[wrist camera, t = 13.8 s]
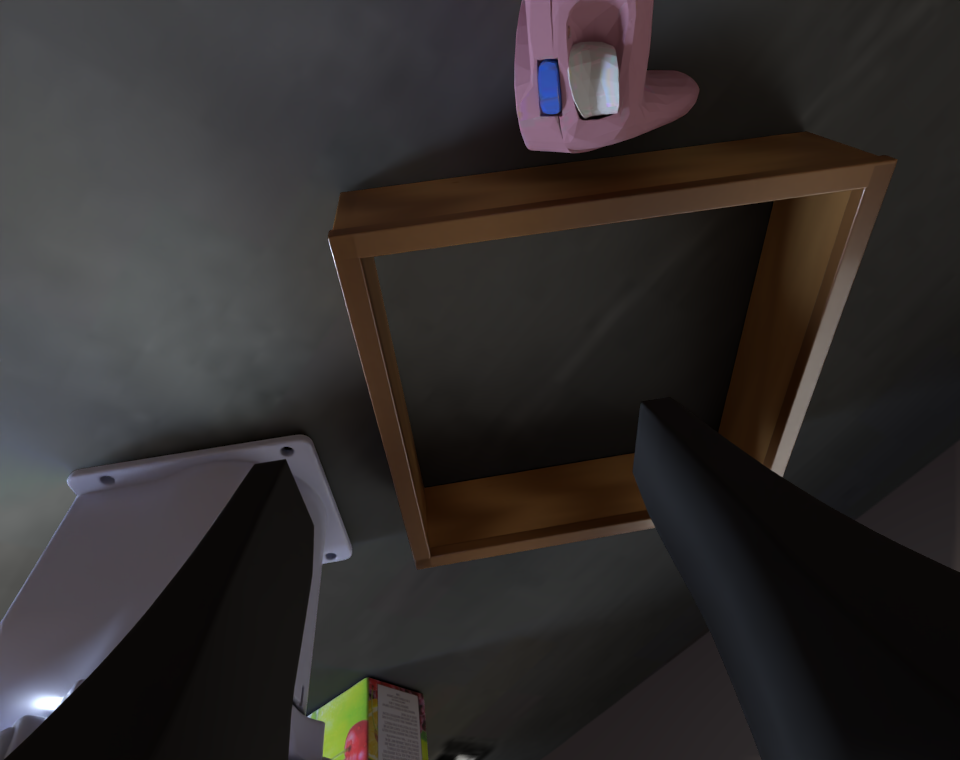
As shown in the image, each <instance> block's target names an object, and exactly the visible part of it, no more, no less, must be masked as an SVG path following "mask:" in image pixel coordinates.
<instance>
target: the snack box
mask: <svg viewBox="0 0 960 760" xmlns="http://www.w3.org/2000/svg"><path fill="white" fill-rule="evenodd" d="M307 717H309V718H312V719H314V720H319V721H323V722H324V723H325V732H324V744H323V756H322V757H326V758H329V759H332V760H428V750H427V736H426V720H425V706H424V696H423V694H422V693H417V692H414V691H411V690H408V689H404V688H401V687H398V686H395V685H391V684H388V683H385V682H382V681H379V680H375V679H372V678H370V677H367V678H364V679H363V680H361V681H360V682H358V683H357V684H355V685H354V686H353V687H351V688H350V689H348V690H347V691H345V692H344V693H342V694H341V695H339V696H338V697H336V698H335V699H333V700H332V701H330V702H329V703H327V704H326V705H324V706H323V707H321V708H320V709H318V710H316V711H315V712H313V713H312V714H310V715H309V716H307Z"/></svg>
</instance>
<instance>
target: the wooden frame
mask: <svg viewBox="0 0 960 760" xmlns="http://www.w3.org/2000/svg"><path fill="white" fill-rule="evenodd" d="M896 163H897V159H895V158H892V157H889V156H886V155H881V156H877V155H874V154H871V153H868V152H865V151H862V150H859V149H856V148H853V147H851V146H848V145H845V144H842V143H839V142H836V141H833V140H830V139H827V138H824V137H821V136H818V135H815V134H813V133H810V132H807V131H805V132H797V133H789V134H782V135H774V136H767V137H759V138H751V139H744V140H736V141H729V142H721V143H713V144H706V145H698V146H691V147H683V148H675V149H668V150H660V151H652V152H645V153H637V154H630V155H622V156H614V157H607V158H599V159H592V160H584V161H576V162H569V163H561V164H554V165H546V166H538V167H531V168H523V169H516V170H508V171H500V172H493V173H485V174H478V175H470V176H462V177H455V178H447V179H440V180H432V181H424V182H417V183H409V184H402V185H394V186H386V187H379V188H371V189H364V190H356V191H348V192H341V193H340V197H339V202H338V206H337V211H336V216H335V220H334V225H333V229H332V230H330V231H329V234H328V242H329V245H330V249H331V253H332V256H333V260H334V264H335V267H336V271H337V275H338V279H339V282H340V286H341V290H342V294H343V297H344V301H345V305H346V308H347V312H348V316H349V320H350V323H351V327H352V331H353V335H354V338H355V342H356V346H357V349H358V353H359V357H360V361H361V364H362V368H363V372H364V376H365V379H366V383H367V387H368V391H369V394H370V398H371V402H372V405H373V409H374V413H375V417H376V420H377V424H378V428H379V432H380V435H381V439H382V443H383V446H384V450H385V454H386V458H387V461H388V465H389V469H390V473H391V476H392V480H393V484H394V488H395V491H396V495H397V499H398V502H399V506H400V510H401V514H402V517H403V521H404V525H405V529H406V532H407V536H408V540H409V543H410V547H411V551H412V555H413V558H414V562H415V566H416V569H417V570H419V569H424V568H430V567H436V566H441V565H447V564H453V563H458V562H464V561H470V560H475V559H481V558H487V557H492V556H498V555H504V554H509V553H515V552H521V551H526V550H532V549H538V548H543V547H549V546H555V545H560V544H566V543H572V542H577V541H583V540H589V539H594V538H600V537H606V536H611V535H617V534H623V533H628V532H634V531H640V530H645V529H651V528H655V526H654V524H653V522H652V520H651V518H650V516H649V514H648V511H647V509H646V506H645V504H644V501H643V499H642V496H641V494H640V491H639V488H638V485H637V483H636V480H635V477H634V475H633V472H632V471H633V462H634V454H635V453H631V454H625V455H619V456H613V457H607V458H601V459H595V460H589V461H583V462H577V463H571V464H565V465H559V466H553V467H547V468H541V469H535V470H529V471H523V472H517V473H511V474H505V475H499V476H493V477H487V478H481V479H475V480H469V481H463V482H457V483H451V484H445V485H439V486H433V487H427V488H424V484H423V480H422V475H421V470H420V466H419V461H418V457H417V452H416V448H415V443H414V438H413V434H412V429H411V425H410V420H409V416H408V411H407V407H406V402H405V397H404V393H403V388H402V384H401V379H400V375H399V370H398V365H397V361H396V356H395V352H394V347H393V343H392V338H391V334H390V329H389V324H388V320H387V315H386V311H385V306H384V302H383V297H382V292H381V288H380V283H379V279H378V274H377V270H376V265H375V261H374V256H381V255H388V254H395V253H403V252H410V251H417V250H424V249H431V248H439V247H446V246H453V245H460V244H467V243H474V242H482V241H489V240H496V239H503V238H510V237H517V236H525V235H532V234H539V233H546V232H553V231H560V230H568V229H575V228H582V227H589V226H596V225H604V224H611V223H618V222H625V221H632V220H639V219H647V218H654V217H661V216H668V215H675V214H682V213H690V212H697V211H704V210H711V209H718V208H725V207H733V206H740V205H747V204H754V203H761V202H769V201H774V203H773V207H772V211H771V215H770V219H769V223H768V227H767V232H766V236H765V240H764V244H763V248H762V252H761V256H760V261H759V265H758V269H757V273H756V277H755V281H754V285H753V290H752V294H751V298H750V302H749V306H748V310H747V314H746V319H745V323H744V327H743V331H742V335H741V339H740V343H739V348H738V352H737V356H736V360H735V364H734V368H733V372H732V377H731V381H730V385H729V389H728V393H727V397H726V401H725V406H724V410H723V414H722V418H721V422H720V426H719V430H718V433H719V434H721V435H722V436H723V437H725V438H726V439H727V440H729V441H730V442H732V443H733V444H734V445H736V446H737V447H739V448H740V449H741V450H743V451H744V452H746V453H747V454H748V455H750V456H751V457H753V458H754V459H756V460H757V461H759V462H760V463H762V464H763V465H764V466H766V467H767V468H769V469H770V470H772V471H773V472H775V473H776V474H778V475H779V476H781V477H783V474H784V472H785V469H786V466H787V463H788V461H789V458H790V455H791V452H792V450H793V447H794V444H795V441H796V439H797V436H798V433H799V430H800V428H801V425H802V422H803V419H804V417H805V414H806V411H807V408H808V405H809V403H810V400H811V397H812V394H813V392H814V389H815V386H816V383H817V381H818V378H819V375H820V372H821V370H822V367H823V364H824V361H825V359H826V356H827V353H828V350H829V348H830V345H831V342H832V339H833V337H834V334H835V331H836V328H837V326H838V323H839V320H840V317H841V315H842V312H843V309H844V306H845V304H846V301H847V298H848V295H849V293H850V290H851V287H852V284H853V282H854V279H855V276H856V273H857V271H858V268H859V265H860V262H861V259H862V257H863V254H864V251H865V248H866V246H867V243H868V240H869V237H870V235H871V232H872V229H873V226H874V224H875V221H876V218H877V215H878V213H879V210H880V207H881V204H882V202H883V199H884V196H885V193H886V191H887V188H888V185H889V182H890V180H891V177H892V174H893V171H894V169H895V166H896Z"/></svg>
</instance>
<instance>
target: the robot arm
mask: <svg viewBox="0 0 960 760" xmlns="http://www.w3.org/2000/svg"><path fill="white" fill-rule="evenodd" d="M283 447H290V448H292V449H290V450H289V449H284V448H283ZM632 472H633V475H634V477H635V480H636V483H637V485H638V488H639V491H640V494H641V496H642V499H643V501H644V504H645V506H646V509H647V511H648V514H649V516H650V518H651V520H652V522H653V524H654V526H655V528H656V530H657V532H658V533H659V535H660V537H661V539H662V541H663V543H664V545H665V547H666V549H667V551H668V552H669V554H670V556H671V558H672V560H673V562H674V564H675V565H676V567H677V569H678V571H679V573H680V575H681V577H682V578H683V580H684V582H685V584H686V586H687V588H688V590H689V591H690V593H691V595H692V597H693V599H694V601H695V603H696V604H697V606H698V608H699V610H700V612H701V614H702V616H703V618H704V620H705V622H706V624H707V626H708V628H709V630H710V633H711V635H712V637H713V639H714V642H715V644H716V646H717V649H718V651H719V654H720V656H721V658H722V661H723V663H724V666H725V668H726V670H727V673H728V675H729V677H730V680H731V682H732V685H733V687H734V690H735V692H736V695H737V697H738V700H739V702H740V705H741V707H742V710H743V712H744V715H745V718H746V720H747V723H748V725H749V728H750V730H751V733H752V735H753V738H754V740H755V743H756V746H757V749H758V751H759V754H760V757H761V759H762V760H960V572H958V571H956V570H953V569H951V568H949V567H946V566H945V565H942V564H940V563H938V562H936V561H934V560H932V559H930V558H927V557H926V556H924V555H921V554H919V553H917V552H915V551H913V550H911V549H909V548H907V547H905V546H902V545H900V544H898V543H896V542H895V541H892V540H891V539H889V538H887V537H885V536H883V535H881V534H879V533H877V532H875V531H873V530H871V529H869V528H868V527H866V526H864V525H862V524H860V523H858V522H857V521H855V520H853V519H851V518H849V517H848V516H846V515H844V514H842V513H840V512H838V511H837V510H835V509H833V508H831V507H830V506H828V505H826V504H825V503H823V502H821V501H819V500H818V499H816V498H814V497H813V496H811V495H810V494H808V493H806V492H805V491H803V490H802V489H800V488H798V487H797V486H795V485H794V484H792V483H790V482H789V481H787V480H786V479H784V478H783V477H781V476H779V475H778V474H776V473H775V472H773V471H772V470H770V469H769V468H767V467H766V466H764V465H763V464H762V463H760V462H759V461H757V460H756V459H754V458H753V457H751V456H750V455H748V454H747V453H746V452H744V451H743V450H741V449H740V448H739V447H737V446H736V445H734V444H733V443H732V442H730V441H729V440H727V439H726V438H725V437H723V436H722V435H721V434H719V433H718V432H716V431H715V430H714V429H712V428H711V427H710V426H708V425H707V424H706V423H704V422H703V421H702V420H700V419H699V418H698V417H696V416H695V415H694V414H692V413H691V412H690V411H688V410H687V409H685V408H684V407H683V406H681V405H680V404H679V403H677V402H676V401H674V400H673V399H672V398H670V397H667V398H661V399H654V400H648V401H642V402H641V404H640V412H639V421H638V429H637V437H636V446H635V454H634V462H633V471H632ZM108 476H110V477H108ZM111 477H112V478H111ZM67 483H68V485H69V487H70V488H71V489H72V491H73V492H74V493H75V494H76V496H77V497H76V499H75V500H74V502H73V504H72V505H71V507H70V509H69V510H68V512H67V514H66V515H65V517H64V519H63V520H62V522H61V524H60V525H59V527H58V529H57V530H56V532H55V533H54V535H53V537H52V538H51V540H50V542H49V543H48V545H47V547H46V548H45V550H44V552H43V553H42V555H41V557H40V558H39V560H38V562H37V563H36V565H35V567H34V568H33V570H32V571H31V573H30V575H29V576H28V578H27V580H26V581H25V583H24V585H23V586H22V588H21V590H20V591H19V593H18V595H17V596H16V598H15V600H14V601H13V603H12V605H11V606H10V608H9V609H8V611H7V613H6V614H5V616H4V618H3V619H2V621H1V623H0V760H332V759H329V758H326V757H322V756H323V744H324V732H325V723H324V722H323V721H319V720H314V719H312V718H309V717H307V716H306V709H307V700H308V691H309V681H310V672H311V663H312V654H313V645H314V636H315V626H316V617H317V608H318V599H319V590H320V581H321V571H322V564H324V563H330V562H335V561H341V560H345V559H348V558H349V557H351V555H352V545H351V542H350V540H349V537H348V534H347V532H346V529H345V526H344V524H343V521H342V518H341V516H340V513H339V510H338V508H337V505H336V502H335V500H334V497H333V494H332V492H331V489H330V486H329V484H328V481H327V478H326V476H325V473H324V470H323V467H322V465H321V462H320V459H319V457H318V454H317V451H316V449H315V446H314V443H313V441H312V440H311V438H309V437H308V436H305V435H291V436H285V437H279V438H272V439H266V440H260V441H253V442H247V443H241V444H234V445H228V446H222V447H216V448H209V449H203V450H197V451H190V452H184V453H178V454H171V455H165V456H159V457H153V458H146V459H140V460H134V461H127V462H121V463H115V464H108V465H102V466H96V467H89V468H83V469H78V470H75V471H73V472H72V473H71V474H70V476H69V477H68V479H67Z"/></svg>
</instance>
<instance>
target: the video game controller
mask: <svg viewBox="0 0 960 760" xmlns="http://www.w3.org/2000/svg"><path fill="white" fill-rule="evenodd" d="M653 2H654V0H522V3H521V8H520V12H519V19H518V26H517V34H516V48H515V72H514V87H515V100H516V110H517V116H518V121H519V126H520V131H521V134H522V137H523V140H524V142H525V145H526V146H527V148H528V149H529V150H533V151H549V152H565V153H581V152H589V151H592V150H595V149H599V148H601V147H604V146H608V145H612V144H616V143H619V142H622V141H625V140H628V139H631V138H634V137H637V136H639V135H642V134H644V133H647V132H649V131H652V130H654V129H656V128H659V127H661V126H664V125H666V124H668V123H671V122H673V121H675V120H677V119H678V118H680V117H682V116H684V115H685V114H687V113H688V112H689V111H690V109H691V108H692V107H693V105H694V104H695V103H696V101H697V98H698V94H699V87H698V85H697V83H696V82H695V81H694V80H693V78H691V77H690V76H688V75H686V74H684V73H682V72H679V71H676V70H647V65H648V58H649V51H650V42H651V29H652V15H653Z"/></svg>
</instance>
